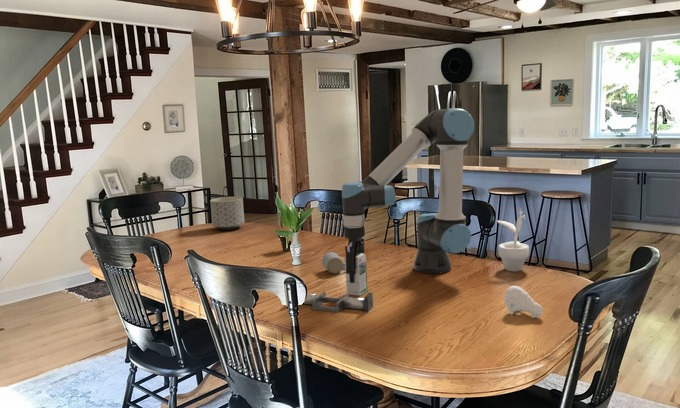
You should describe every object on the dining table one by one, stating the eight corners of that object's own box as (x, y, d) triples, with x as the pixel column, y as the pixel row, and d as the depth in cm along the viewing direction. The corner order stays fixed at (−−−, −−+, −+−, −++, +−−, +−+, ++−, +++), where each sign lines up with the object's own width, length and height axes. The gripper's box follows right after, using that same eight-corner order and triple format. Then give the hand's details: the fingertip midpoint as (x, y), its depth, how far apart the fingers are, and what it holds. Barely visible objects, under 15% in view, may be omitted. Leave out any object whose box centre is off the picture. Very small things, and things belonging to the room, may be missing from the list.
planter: (207, 232, 316) (205, 202, 313) (220, 225, 334) (217, 197, 331) (238, 232, 313) (236, 201, 310) (249, 225, 331) (246, 196, 328)
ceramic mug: (327, 275, 219) (327, 257, 218) (322, 270, 226) (321, 252, 225) (352, 272, 222) (351, 254, 221) (346, 267, 230) (345, 250, 228)
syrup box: (360, 296, 192) (358, 257, 190) (346, 294, 195) (344, 255, 193) (367, 291, 197) (366, 253, 194) (354, 289, 200) (352, 251, 197)
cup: (298, 251, 258) (294, 231, 257) (280, 254, 258) (275, 234, 257) (299, 247, 267) (296, 228, 266) (282, 250, 267) (278, 231, 266)
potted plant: (533, 268, 215) (534, 206, 211) (521, 275, 207) (521, 211, 203) (504, 263, 224) (504, 204, 219) (490, 270, 215) (490, 209, 211)
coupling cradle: (375, 304, 183) (374, 290, 182) (365, 314, 174) (365, 300, 173) (299, 297, 193) (299, 284, 193) (287, 307, 185) (286, 293, 184)
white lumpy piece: (513, 281, 172) (549, 293, 164) (511, 306, 174) (546, 318, 166) (503, 286, 168) (538, 298, 160) (500, 311, 170) (535, 324, 162)
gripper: (353, 220, 202) (356, 279, 206) (334, 231, 184) (337, 295, 188) (372, 220, 199) (374, 280, 203) (354, 232, 182) (357, 297, 185)
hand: (356, 287), depth 196 cm, fingers closed on syrup box, 6 cm apart
